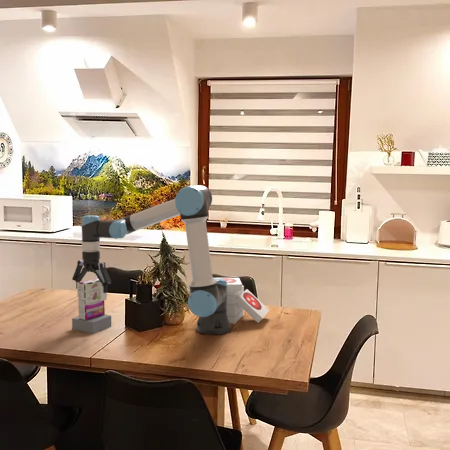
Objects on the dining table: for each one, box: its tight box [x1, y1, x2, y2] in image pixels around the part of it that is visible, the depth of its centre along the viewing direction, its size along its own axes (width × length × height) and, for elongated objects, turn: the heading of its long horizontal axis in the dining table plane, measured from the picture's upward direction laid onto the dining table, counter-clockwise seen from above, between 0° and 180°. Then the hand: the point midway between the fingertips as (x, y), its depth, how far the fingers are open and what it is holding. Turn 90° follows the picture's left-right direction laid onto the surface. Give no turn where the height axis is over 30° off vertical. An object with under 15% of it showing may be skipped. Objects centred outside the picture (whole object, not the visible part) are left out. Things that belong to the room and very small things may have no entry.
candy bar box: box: [77, 277, 106, 320], centre depth 235 cm, size 11×5×16 cm, turn 145°
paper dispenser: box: [216, 277, 270, 325], centre depth 253 cm, size 19×30×18 cm, turn 73°
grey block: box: [71, 314, 112, 334], centre depth 236 cm, size 12×12×5 cm
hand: (91, 298), depth 235 cm, fingers open, 13 cm apart
